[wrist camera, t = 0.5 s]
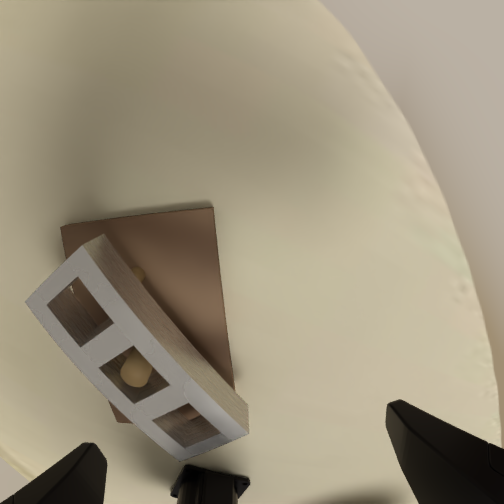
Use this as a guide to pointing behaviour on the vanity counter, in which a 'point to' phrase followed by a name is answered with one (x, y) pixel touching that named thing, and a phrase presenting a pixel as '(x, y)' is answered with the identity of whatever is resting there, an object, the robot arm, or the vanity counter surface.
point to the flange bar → (147, 343)
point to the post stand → (166, 283)
